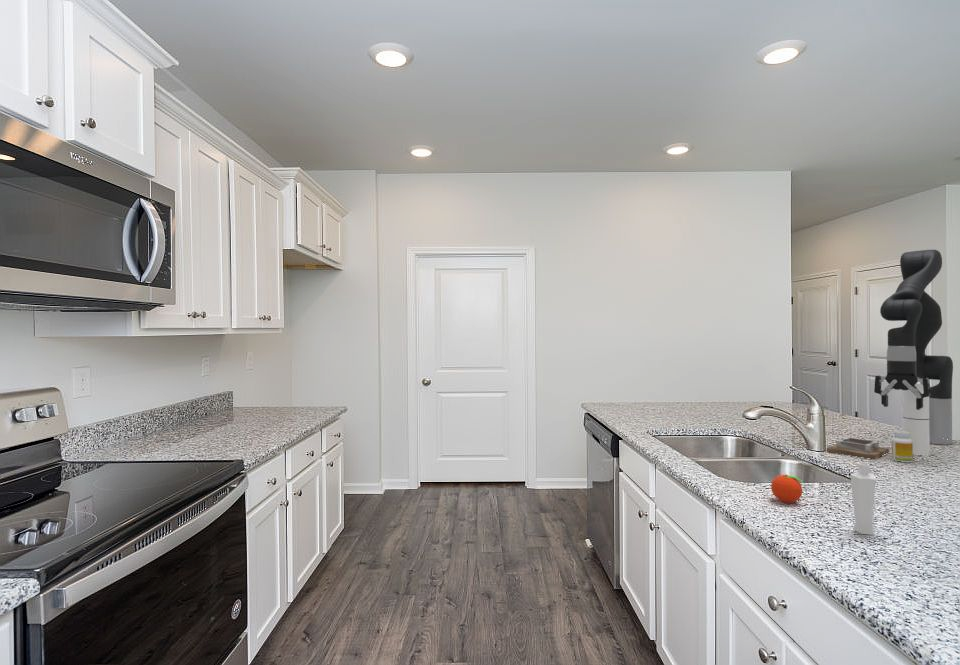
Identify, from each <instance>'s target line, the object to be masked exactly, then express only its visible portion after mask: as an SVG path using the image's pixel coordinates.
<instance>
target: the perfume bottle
mask: <svg viewBox="0 0 960 665" xmlns="http://www.w3.org/2000/svg"><path fill="white" fill-rule="evenodd" d="M857 465H858V471H857V472H854V473H851V474H850V482H851V491H852V493H851V494H852V501H853V514H854V515H853V516H854V525H853V529H852V530H853V531H855V532H857V533H859V534H863V535H871V536H873V535H875V529H874V526H873V519H874V506H875V492H876V491H875V490H876V480H877V479H876V476H875V475H874V474H872V473H870V463H865V462H857Z"/></svg>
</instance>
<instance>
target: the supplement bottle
mask: <svg viewBox="0 0 960 665" xmlns="http://www.w3.org/2000/svg"><path fill="white" fill-rule="evenodd" d="M893 436H894V437H892V438H891V460H892V459H893V461H894V460H896V461H895V462H898V461H901V462H900V463H904V462H911V463H913V462H914V461H913V458H914V457H913V456H914V455H913V442H912V440H911V439H909V437H910V433H909V432H906V431H903V430H894V432H893Z"/></svg>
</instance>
